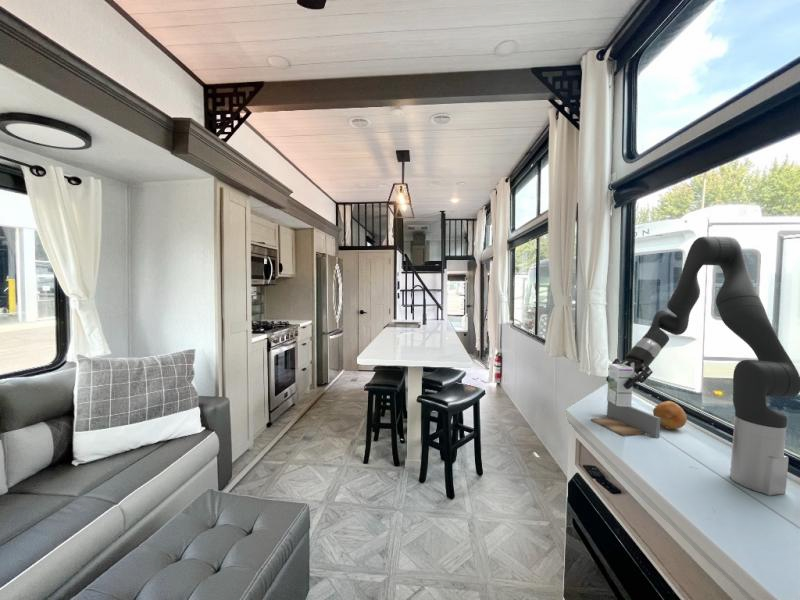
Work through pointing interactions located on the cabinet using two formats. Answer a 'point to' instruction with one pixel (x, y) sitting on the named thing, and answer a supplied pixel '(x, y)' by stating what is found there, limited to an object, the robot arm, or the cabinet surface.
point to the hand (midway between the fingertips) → (616, 384)
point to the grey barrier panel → (635, 419)
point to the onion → (670, 415)
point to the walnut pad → (618, 426)
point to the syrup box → (619, 385)
